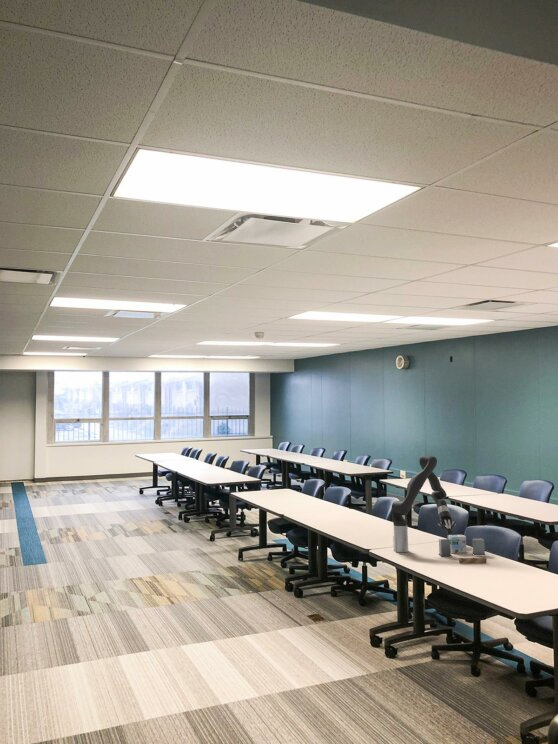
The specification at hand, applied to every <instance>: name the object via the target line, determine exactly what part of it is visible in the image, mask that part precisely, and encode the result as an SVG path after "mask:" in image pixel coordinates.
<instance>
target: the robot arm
mask: <svg viewBox="0 0 558 744" xmlns="http://www.w3.org/2000/svg"><path fill="white" fill-rule="evenodd" d="M418 462H419V466H420V467H421V469H422V470H421V471H419V472H417V473H416V474H414V475H413V476H412V477H411V478H410V480H409V481H408V483H407V484H406V485H407V486H406V496H405V498H404V499H403V500H402V501H401V500H394V501H393V502H392V504H391V519H392V523H393V524H392V525H393V536H392V538H393V539H392V540H393V551H394V552H395V553H408V552H409V535H408V534H409V531H408V520H406V519H405V518H404V517H403V516H407V515H408V513H409V512H410V510H411V508H412V506H413V504H414V503H415V500H416V499H417V496H418V494H419V493H420V491H421V489H422V488H423V486H424V484H425V483H426V481H427V480H428V482H429V486H430V488H431V490H432V492H431V494H430V495H431V498H432V500H433V502H434V503H435V505H436V508H437V514H438V517H439V520H440V521H439V522H438V523H437V525H438V527H440V528H441V530H444V531H446V532H447V535H453V534H452V533H453V532H452V530H453V529H454V528H455V527H456V524H457V521H454V520H453V519H452V517H451V513H450V510H449V508H448V504H447V501H446V500H445V499H446V498H447V492H446V490H445V489H444V488H443V487H442V485H441V482H440V480H439V478H438V476H437V475H436V474H435V473H434V472H433V471H434V470H435V468H436V466H437V464H438V459H437V457H435V456H433V455H427V454H422V455H421V456H420V457H419V461H418Z"/></svg>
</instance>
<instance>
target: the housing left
mask: <svg viewBox="0 0 558 744" xmlns="http://www.w3.org/2000/svg"><path fill="white" fill-rule="evenodd" d="M438 547H439V553H438V556H439V557H440V558H444V557H445V558H447V557H448V558H449V557H450V556H452V553H451V547H450V540H449V539H448V538H446V539H445V538H443V539H441V538H439V539H438ZM450 558H451V557H450Z"/></svg>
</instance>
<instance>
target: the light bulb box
mask: <svg viewBox="0 0 558 744" xmlns="http://www.w3.org/2000/svg"><path fill="white" fill-rule="evenodd" d="M447 539H449V540H450V547H451V554H458V553H457V552H467V536H466V535H463V534H451V535H449V534H447Z"/></svg>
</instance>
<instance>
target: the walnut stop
mask: <svg viewBox="0 0 558 744" xmlns="http://www.w3.org/2000/svg"><path fill="white" fill-rule="evenodd" d="M458 558H459V561H458V562H459V564H461V565H462V564H463V565H466V564H467V565H468V564H471V565H472V564H487V562H488V561H487V557H486V556H474V557H458Z"/></svg>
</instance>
